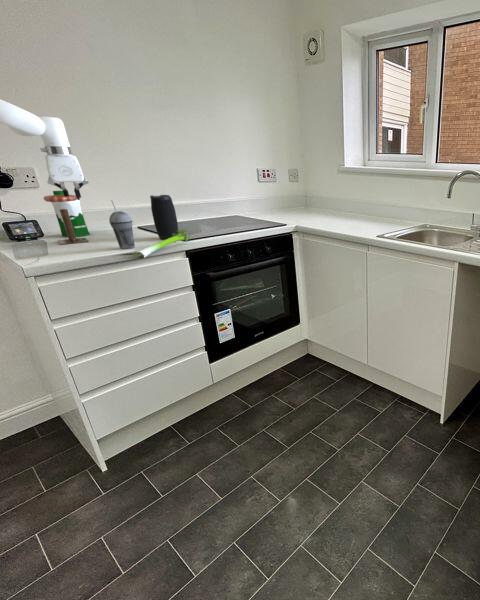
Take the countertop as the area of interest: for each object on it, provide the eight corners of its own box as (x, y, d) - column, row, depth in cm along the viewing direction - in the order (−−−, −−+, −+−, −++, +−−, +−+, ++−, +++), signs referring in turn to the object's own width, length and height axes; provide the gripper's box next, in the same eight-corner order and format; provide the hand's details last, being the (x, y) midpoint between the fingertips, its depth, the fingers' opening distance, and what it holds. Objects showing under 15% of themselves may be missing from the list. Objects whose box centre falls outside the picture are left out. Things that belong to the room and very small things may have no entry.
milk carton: (77, 233, 169) (64, 190, 161) (93, 234, 167) (81, 191, 160) (58, 236, 161) (43, 191, 153) (75, 237, 159) (61, 192, 152)
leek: (132, 261, 133) (179, 239, 160) (150, 264, 134) (194, 242, 161) (129, 246, 131) (177, 226, 158) (148, 249, 131) (193, 229, 158)
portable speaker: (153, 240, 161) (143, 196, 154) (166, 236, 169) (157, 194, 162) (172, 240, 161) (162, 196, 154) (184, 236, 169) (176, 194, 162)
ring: (45, 202, 136) (43, 197, 135) (43, 200, 142) (41, 195, 141) (79, 201, 143) (77, 196, 142) (76, 199, 149) (74, 194, 148)
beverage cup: (142, 250, 143) (130, 199, 136) (122, 253, 137) (108, 201, 130) (133, 247, 147) (121, 198, 139) (113, 250, 141) (99, 199, 133)
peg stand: (61, 247, 143) (49, 211, 138) (58, 243, 149) (47, 208, 143) (89, 244, 149) (79, 209, 144) (86, 240, 155) (76, 207, 149)
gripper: (31, 150, 130) (48, 201, 137) (87, 152, 141) (100, 199, 148) (30, 150, 135) (46, 200, 142) (84, 152, 146) (96, 198, 153)
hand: (73, 199), depth 145 cm, fingers closed on ring, 2 cm apart
